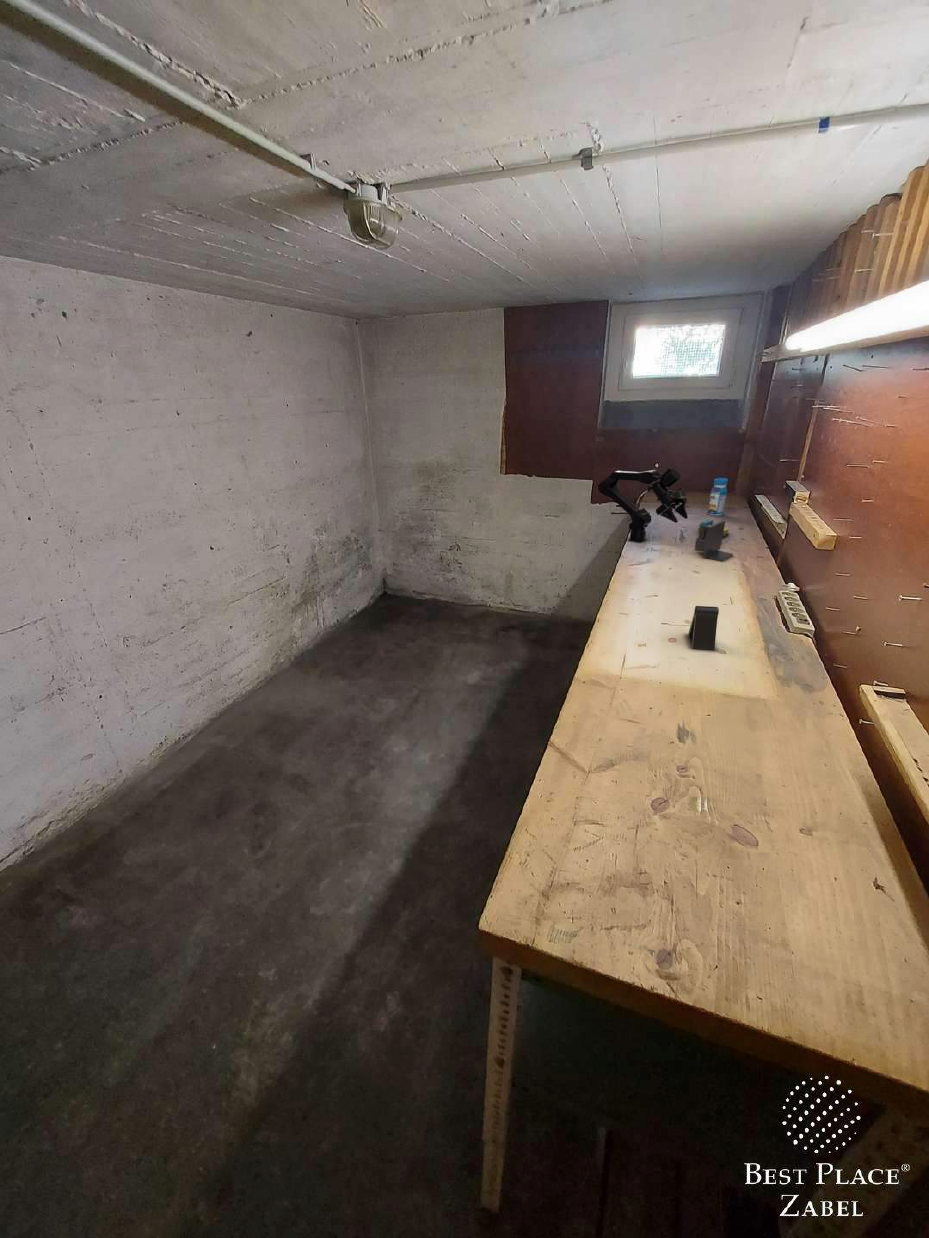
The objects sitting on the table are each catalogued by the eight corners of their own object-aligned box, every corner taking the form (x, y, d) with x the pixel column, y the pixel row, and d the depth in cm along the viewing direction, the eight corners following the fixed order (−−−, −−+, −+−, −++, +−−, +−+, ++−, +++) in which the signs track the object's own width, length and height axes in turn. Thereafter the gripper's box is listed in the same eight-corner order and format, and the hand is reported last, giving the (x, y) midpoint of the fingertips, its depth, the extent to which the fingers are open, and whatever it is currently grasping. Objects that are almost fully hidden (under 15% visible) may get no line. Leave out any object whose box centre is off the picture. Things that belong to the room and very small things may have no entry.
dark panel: (690, 556, 218) (696, 525, 211) (705, 549, 226) (710, 518, 219) (720, 562, 209) (726, 530, 202) (734, 555, 217) (740, 523, 210)
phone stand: (687, 635, 152) (693, 600, 147) (708, 636, 151) (715, 601, 146) (692, 648, 145) (698, 612, 139) (714, 650, 143) (721, 614, 138)
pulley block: (697, 531, 230) (701, 516, 254) (693, 542, 233) (698, 526, 257) (729, 538, 225) (730, 522, 249) (724, 549, 228) (726, 533, 251)
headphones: (694, 550, 219) (699, 522, 214) (701, 546, 223) (706, 518, 218) (703, 552, 216) (708, 523, 211) (710, 548, 220) (715, 520, 215)
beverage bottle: (723, 516, 276) (730, 480, 267) (707, 515, 278) (713, 480, 270) (722, 512, 283) (728, 477, 274) (706, 512, 286) (712, 477, 277)
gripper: (665, 485, 214) (685, 513, 211) (686, 479, 224) (705, 506, 222) (647, 501, 223) (666, 528, 220) (667, 494, 233) (686, 520, 230)
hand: (681, 520), depth 223 cm, fingers open, 9 cm apart
